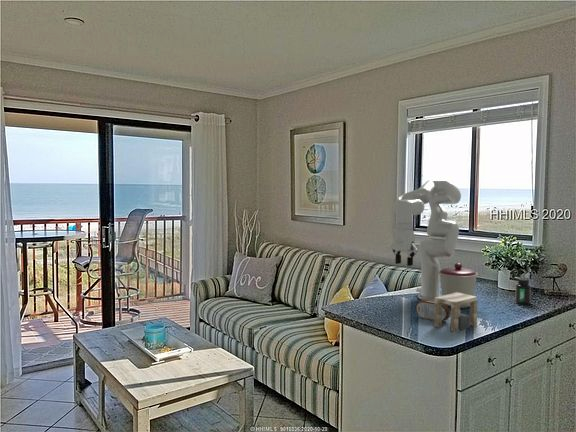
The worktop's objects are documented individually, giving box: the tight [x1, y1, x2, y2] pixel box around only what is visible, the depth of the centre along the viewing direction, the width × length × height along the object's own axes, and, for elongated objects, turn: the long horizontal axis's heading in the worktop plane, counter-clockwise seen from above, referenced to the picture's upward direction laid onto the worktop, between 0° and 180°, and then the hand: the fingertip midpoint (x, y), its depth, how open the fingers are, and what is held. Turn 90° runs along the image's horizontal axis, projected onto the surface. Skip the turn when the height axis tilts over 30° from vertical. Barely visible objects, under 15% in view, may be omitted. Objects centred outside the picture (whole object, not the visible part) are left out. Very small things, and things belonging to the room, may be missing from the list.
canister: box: [439, 262, 479, 309], centre depth 221 cm, size 18×18×21 cm
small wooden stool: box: [433, 292, 478, 333], centre depth 189 cm, size 10×15×12 cm, turn 125°
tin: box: [415, 299, 451, 322], centre depth 199 cm, size 15×3×8 cm, turn 48°
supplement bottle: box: [514, 278, 532, 306], centre depth 224 cm, size 7×7×12 cm
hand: (404, 264), depth 211 cm, fingers open, 6 cm apart
